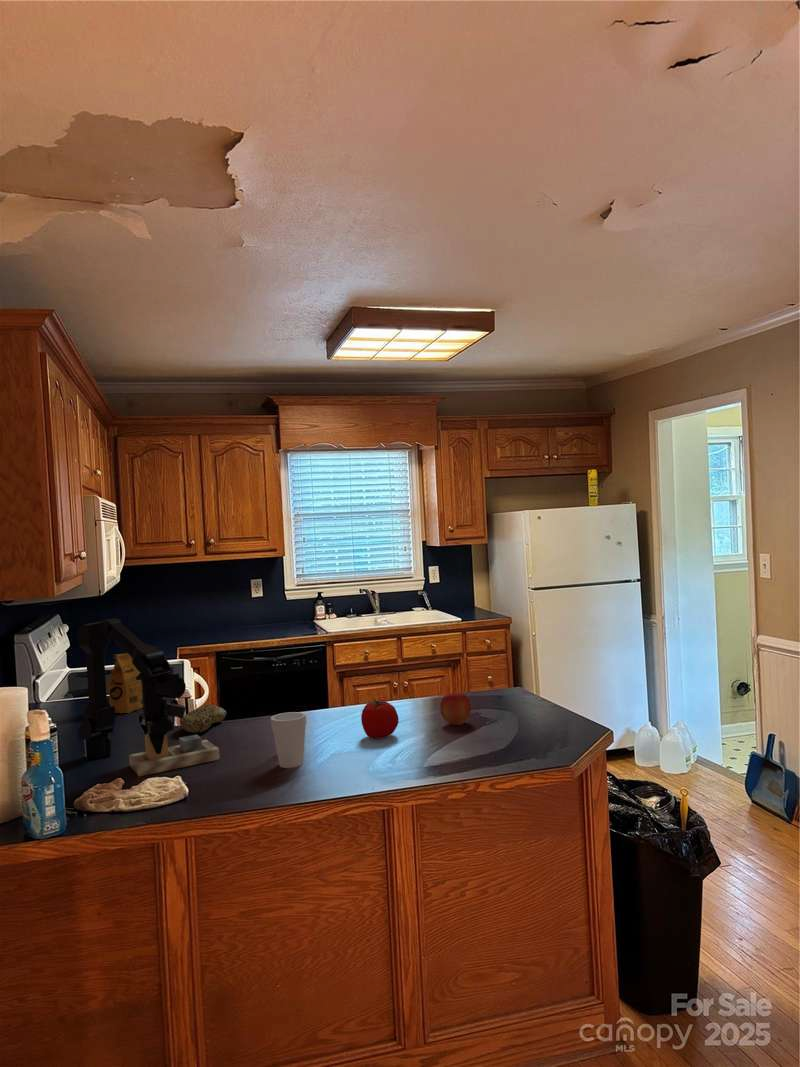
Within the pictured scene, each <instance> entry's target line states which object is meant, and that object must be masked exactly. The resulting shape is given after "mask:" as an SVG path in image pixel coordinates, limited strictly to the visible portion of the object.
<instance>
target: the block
mask: <svg viewBox="0 0 800 1067" xmlns="http://www.w3.org/2000/svg"><path fill="white" fill-rule="evenodd" d="M144 744H145V745H144V746H145V752H146V756H147V758H148V759H149V760H153V759H158V758H163V757H167V756H168V747H169V744H168V734H167V733H166V734H165V736H164V740H163V745H162V750H161V754H156V751H155V749H154V747H153V745H152V743H151V741H150V738H149V736H148V734H145V735H144Z"/></svg>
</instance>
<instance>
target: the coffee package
mask: <svg viewBox="0 0 800 1067" xmlns="http://www.w3.org/2000/svg"><path fill="white" fill-rule="evenodd" d="M113 659H115V663H114V666H113V669H112V671H111V673H110V676H109V678H108V685H107V686H108V698H109V699H108V700H109V701H108V702H109V704H110V705H111V706H114V707H115V714H116V713H120V714H119V715H123V714H122V713H129V714H130V713H132V712H134V711H135V710H137V711H140V710H141V708H142V709H143V705H142V704H141V700H142V686H141V680H136V677H137V676H138V675H139V674H140V672H139V671H138V670H137V669H136V667H135V666H134V665H133V663H132V657H131V656H130V655H129V654H128V653H127V652H125V653H119V654H113ZM139 709H140V710H139ZM135 712H136V711H135Z"/></svg>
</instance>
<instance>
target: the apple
mask: <svg viewBox="0 0 800 1067" xmlns="http://www.w3.org/2000/svg"><path fill="white" fill-rule="evenodd" d="M439 705H440V706H439V709H440V710H439V711H440V714H441V716H442V719H443V720H444V721H445V722H446V723H448V724H450V725H453V726H462V725H463V724H464V723H466V721H467V720H468V719H469V717H470V715H471V712H472V705H471V701H470V698H469V696H468V695H467V694H466V693H464V692H456V691H454V692H453V693H452V692H450V693H446V694H445V695H443V696H442V697H441V699H440V703H439Z"/></svg>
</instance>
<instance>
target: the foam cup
mask: <svg viewBox="0 0 800 1067" xmlns="http://www.w3.org/2000/svg"><path fill="white" fill-rule="evenodd" d="M306 725H307V715H306V713H304V712H302V711H301V712H300V711H298V712H296V711H291V712H290V711H289V712H283V713H282V712H281V713H277V714H275V715H273V716H271V717H270V726H271V728H272V733H273V739H274V744H275V749H276V754H277V757H278V758H277V759H278V764H279V767H280V768H283V769H284V768H285V769H291V768H297V767H300V766H302V765H303V764H304V759H305V758H304V756H305V754H304V753H305V743H306V742H305V741H306V740H305V738H306Z"/></svg>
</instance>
